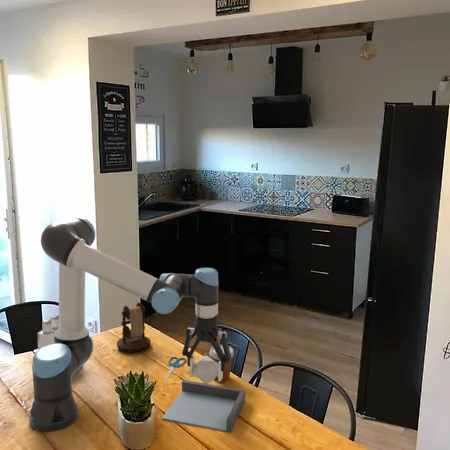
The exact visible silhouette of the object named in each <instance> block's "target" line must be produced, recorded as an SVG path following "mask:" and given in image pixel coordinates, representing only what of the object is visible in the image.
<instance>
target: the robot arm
mask: <svg viewBox="0 0 450 450" xmlns="http://www.w3.org/2000/svg"><path fill="white" fill-rule="evenodd" d="M95 239H96V230H95V228H94V225H93V224H92V223H91V221H90V220H89V219H87V218H85V217H83V216H77V215H76V216H69V217H66V218H64V219H62V220H58V221H55V222H51V223H50V224H49V225H47V226H46V227H45V228H44V230H43V231H42V233H41V236H40V246H41V247H42V250H43V252H44V253H45V254H46V255H47V256H48V258H50V259H51V260H53V261H54V262H56V263H58V316H59V328H58V329H57V330H56V331H55V332H54V344H50V345H48V346H44V347H42V348H40V349H39V350H38V349H37V351H35V353H34V354H33V357H32V363H31V370H32V380H33V402H32V405H31V408H30V412H29V425H30V427H31V428H32V429H34V430H37V431H38V432H39V431H40V432H54V431H58V430H62V429H65V428H67V427H69V426H70V425H72V424H74V422H76V421H77V420H78V417H79V406H78V404H77V401H76V399H75V396H74V394H73V382H72V381H73V379H72V378H73V376H74V375H75V374H76V373H77V372H78V371H79V370H80V368H82V367H83V366H84V365H85V364H86V363H87V362H88V361H89V359H90V357H91V356H92V354H93V352H94V341H93V338H92V336H90V330H89V329H88V328H87V327H85V326H86V325H85V322H86V321H85V319H86V317H85V316H86V315H85V311H86V307H85V306H86V273H88V274H90V275H91V276H93V277H96V278H98V279H99V280H102V281H104V282H106V283H108V284H110V285H112V286H114V287H116V288H119V289H120V290H122V291H125V292H127V293H130V294H131V295H133V296H134V297H137V298H139V299H141V300H144V301H146V302H149V303H150V304H151V306H152V308H153V309H154V310H155V312H157V313H159V314H161V315H167V314H171V313H172V312H173V311H174V310H175V309H176V308H177V307H178V306H179V304H180V302H181V300H182V299H183V298H195V300H194V301H195V304H194V305H195V307H194V309H195V311H194V313H195V321H194V322H195V327H192V326H189V327H187V329H186V331H185V332H186V333H185V334H186V338H185V341H184V345H183V350H182V354H181V355H182V356H183V357H185V358H186V362H187V363H186V364H187V367H189V371H190V372H189V378H193V376H195V372H194V364H195V363H196V362H195V361H196V359H195V357H196V356H195V355H194V353H195V351H196V349H197V348H198V346H199V344H200V343H201V342H203V343H205V342H207V343H210V344H211V347H214V349H215V351H216V353H217V355H218V357H219V359H220V361H219V363H218V381H221V380H222V378H223V372H224V370H225V368H226V362H229V361H230V359H231V354H230V350H229V346H230V345H229V342H228V332H227V331H226V330H224V331H220V330H219V328H218V327H219V315H218V314H219V272H218V270H217V269H215V268H212V267H200V268H197V269H196V270H195V272H194V273H195V274H189V273H188V274H186V273H173V272H169V273H162V274H161V275H160V276H159V278H157V277H154V276H153V275H151V274H149V273H147V272H145V271H143V270H141V269H139V268H136V267H135V266H132V265H130V264H127V263H126V262H123V261H122V260H119V259H118V258H115V257H114V256H111V255H109V254H107V253H105V252H103V251H100V249H99V250H98V249H96V248H94V247H92V245H93V243H94V241H95ZM194 333H195V335H196V339H195V341H194V342H193V345H192V347H191V348H190V345H191V340H192V337H193V335H194ZM218 337H219V338H220V339H221V340H220V341H221V342H220V343H221V344H220V343H219V339H218ZM220 345H222V346H223V350H224V353H223V351H222V349H221V347H220ZM189 348H190V350H189Z"/></svg>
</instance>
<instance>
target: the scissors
mask: <svg viewBox="0 0 450 450" xmlns="http://www.w3.org/2000/svg"><path fill="white" fill-rule="evenodd" d="M173 359H176V360H175V361H174V362H171V361H172V360H173ZM181 360H184V361H183V362H182V363H179V361H181ZM186 362H187V358H186V357H177V356H172V357H170V358H169V360H168V367H169V370H168V372H167V374H166V376H165V377H164V380H163V382H165V381H166V380H167V378H168V377H169V376H170V375H171V374H172V373H173V371H174V368H180V367H182V366H184V365H185V364H186Z"/></svg>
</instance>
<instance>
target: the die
mask: <svg viewBox="0 0 450 450" xmlns="http://www.w3.org/2000/svg"><path fill="white" fill-rule="evenodd" d="M194 372H195V374H194V377H196V378H197V379H198V380H200V381H201V382H202V383H205V384H210V383H211V382H212V381H214V379H215V378H216V377H217V376H218V363H217V362H215V361H214V360H212V359H211V357H209V356H208V355H204V356H202V358H200V359H199V360H198V361H196V362H195V364H194Z"/></svg>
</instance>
